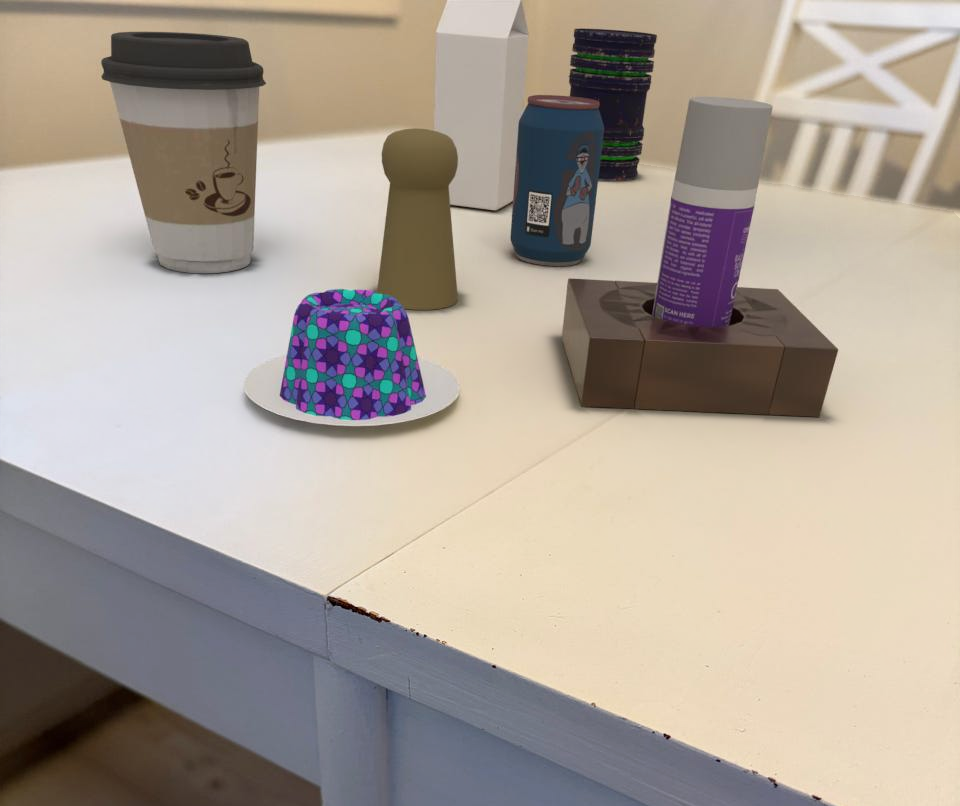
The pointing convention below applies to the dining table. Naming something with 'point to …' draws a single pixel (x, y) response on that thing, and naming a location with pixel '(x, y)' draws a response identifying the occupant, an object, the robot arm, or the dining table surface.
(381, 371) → the pudding
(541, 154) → the soda can
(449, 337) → the dining table surface
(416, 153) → the cork
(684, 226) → the container
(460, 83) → the milk carton
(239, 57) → the coffee cup
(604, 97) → the black striped cylinder
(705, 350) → the socket board
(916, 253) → the dining table surface
